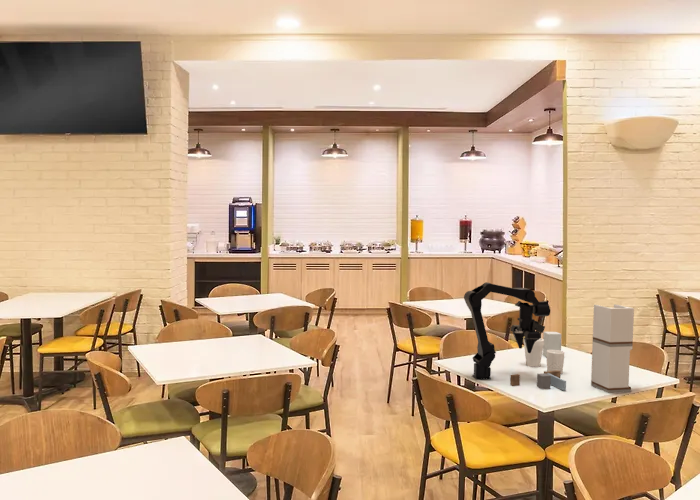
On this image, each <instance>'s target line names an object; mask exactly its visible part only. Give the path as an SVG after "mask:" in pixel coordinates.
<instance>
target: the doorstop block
mask: <svg viewBox="0 0 700 500" xmlns="http://www.w3.org/2000/svg"><path fill="white" fill-rule="evenodd" d="M551 386H552V385H551V376H550V375H548V374H546V373H544V372H543V373H537V375H536V387H538V389H540V390H551Z"/></svg>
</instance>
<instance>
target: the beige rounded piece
mask: <svg viewBox="0 0 700 500" xmlns="http://www.w3.org/2000/svg"><path fill="white" fill-rule="evenodd" d="M564 361H565V351H564V350H561V351H560V350H547V357H546V371H555V370H559V371H561V374H560V375H563V373H564V372H563V369H564V365H565V364H564V363H565V362H564Z"/></svg>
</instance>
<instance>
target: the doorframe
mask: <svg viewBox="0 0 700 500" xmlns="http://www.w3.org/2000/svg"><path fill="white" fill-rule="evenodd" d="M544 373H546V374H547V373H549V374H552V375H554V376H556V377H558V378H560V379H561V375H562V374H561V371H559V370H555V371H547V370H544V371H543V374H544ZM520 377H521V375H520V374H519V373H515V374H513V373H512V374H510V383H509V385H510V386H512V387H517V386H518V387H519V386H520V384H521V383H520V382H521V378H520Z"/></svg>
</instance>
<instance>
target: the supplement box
mask: <svg viewBox="0 0 700 500" xmlns="http://www.w3.org/2000/svg"><path fill="white" fill-rule="evenodd" d="M542 335H543V337H542V339H544V345H543V351H542V356H544V357H545V358H547V350H560V351H562V333H560V332H558V331H543V333H542Z"/></svg>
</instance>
